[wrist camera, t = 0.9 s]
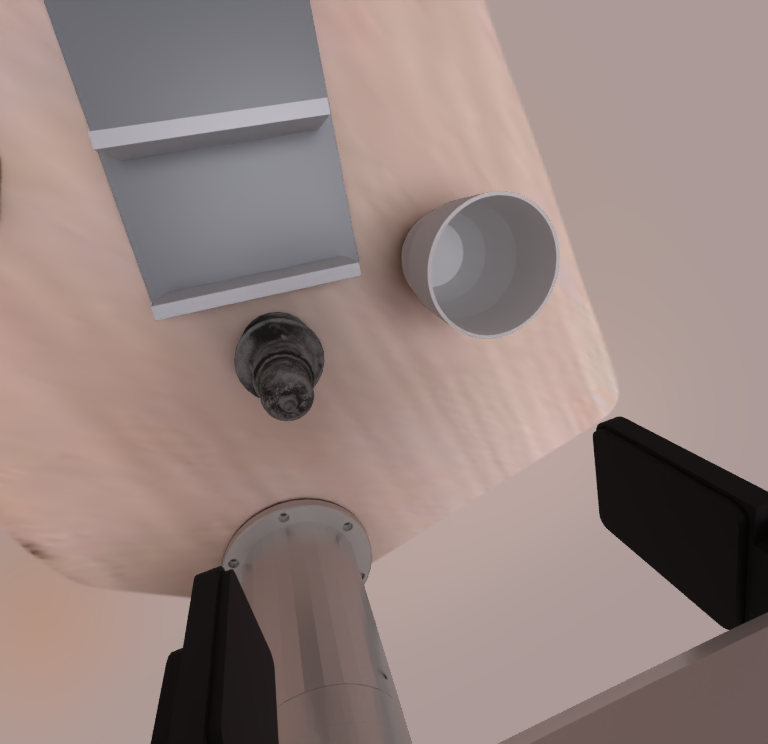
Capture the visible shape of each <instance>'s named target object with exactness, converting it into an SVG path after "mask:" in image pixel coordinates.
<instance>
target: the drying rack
mask: <svg viewBox="0 0 768 744" xmlns="http://www.w3.org/2000/svg"><path fill="white" fill-rule="evenodd" d="M44 3H45V6H46V8H47V11H48V14H49V17H50V20H51V22H52V25H53V28H54V31H55V34H56V36H57V39H58V42H59V45H60V48H61V50H62V53H63V56H64V59H65V62H66V64H67V67H68V70H69V73H70V76H71V78H72V81H73V84H74V87H75V90H76V92H77V95H78V98H79V101H80V104H81V106H82V109H83V112H84V115H85V118H86V120H87V123H88V126H89V129H90V131H89V132H88V135H89V137H90V140H91V143H92V146H93V149H94V150H96V151H98V154H99V157H100V159H101V162H102V165H103V168H104V171H105V173H106V176H107V179H108V182H109V185H110V187H111V190H112V193H113V196H114V199H115V201H116V204H117V207H118V210H119V213H120V215H121V218H122V221H123V224H124V227H125V229H126V232H127V235H128V238H129V241H130V243H131V246H132V249H133V252H134V255H135V257H136V260H137V263H138V266H139V269H140V271H141V274H142V277H143V280H144V283H145V285H146V288H147V291H148V294H149V297H150V299H151V302H152V306H151V310H152V313H153V315H154V318H155V321H156V320H161V319H165V318H170V317H174V316H179V315H184V314H188V313H193V312H197V311H202V310H206V309H211V308H215V307H220V306H225V305H229V304H234V303H238V302H243V301H247V300H252V299H256V298H261V297H266V296H270V295H275V294H279V293H284V292H288V291H293V290H297V289H302V288H307V287H311V286H316V285H320V284H325V283H329V282H334V281H338V280H343V279H348V278H352V277H357V276H361V272H360V267H359V259H358V254H357V249H356V243H355V238H354V233H353V227H352V222H351V217H350V212H349V206H348V201H347V196H346V191H345V185H344V180H343V175H342V169H341V164H340V159H339V154H338V148H337V143H336V138H335V132H334V127H333V122H332V117H331V111H330V106H329V101H328V96H327V90H326V85H325V80H324V74H323V69H322V64H321V59H320V53H319V48H318V43H317V37H316V32H315V27H314V22H313V16H312V11H311V6H310V1H309V0H44Z"/></svg>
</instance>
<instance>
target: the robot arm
mask: <svg viewBox="0 0 768 744" xmlns="http://www.w3.org/2000/svg"><path fill="white" fill-rule="evenodd" d="M593 444H594V456H595V467H596V480H597V490H598V501H599V502H598V503H599V514H600V518H601V521H602V523H603V524H604V526H605V527H606V528H607V529H608V530H609V531H610V532H611V533H613V534H614V535H615V536H616V537H617V538H618V539H620V540H621V541H622V542H623V543H624V544H625V545H627V546H628V547H629V548H630V549H631V550H633V551H634V552H635V553H636V554H637V555H639V556H640V557H641V558H642V559H643V560H644V561H645V562H647V563H648V564H649V565H650V566H651V567H652V568H654V569H655V570H656V571H657V572H658V573H660V574H661V575H662V576H663V577H664V578H665V579H667V580H668V581H669V582H670V583H671V584H673V585H674V586H675V587H676V588H677V589H678V590H679V591H681V592H682V593H683V594H684V595H685V596H686V597H688V598H689V599H690V600H691V601H692V602H694V603H695V604H696V605H697V606H698V607H700V608H701V609H702V610H703V611H704V612H705V613H707V614H708V615H709V616H710V617H711V618H712V619H714V620H715V621H716V622H717V623H718V624H719V625H721V626H722V627H723V628H725V629H728V630H729V631H727V632H725V633H723V634H721V635H719V636H717V637H715V638H713V639H711V640H709V641H706V642H705V643H702V644H700V645H698V646H696V647H694V648H692V649H690V650H688V651H686V652H684V653H682V654H680V655H678V656H676V657H673V658H671V659H669V660H667V661H665V662H663V663H661V664H659V665H657V666H655V667H653V668H651V669H649V670H646V671H645V672H642V673H640V674H638V675H636V676H634V677H632V678H630V679H628V680H626V681H625V682H622V683H620V684H618V685H616V686H614V687H612V688H610V689H608V690H606V691H604V692H602V693H600V694H598V695H595V696H593V697H591V698H589V699H587V700H585V701H583V702H581V703H579V704H577V705H575V706H573V707H571V708H569V709H567V710H565V711H563V712H561V713H559V714H557V715H555V716H553V717H551V718H549V719H547V720H545V721H543V722H541V723H539V724H537V725H534V726H532V727H531V728H528V729H526V730H524V731H522V732H520V733H518V734H516V735H514V736H512V737H510V738H508V739H506V740H504V741H502V742H500V743H498V744H768V492H767V491H765V490H763V489H762V488H760V487H758V486H756V485H754V484H752V483H750V482H748V481H746V480H744V479H742V478H740V477H738V476H736V475H734V474H732V473H730V472H729V471H727V470H725V469H723V468H721V467H719V466H717V465H715V464H713V463H711V462H709V461H707V460H705V459H703V458H701V457H699V456H697V455H696V454H694V453H692V452H690V451H688V450H686V449H684V448H682V447H680V446H678V445H676V444H674V443H672V442H670V441H668V440H667V439H665V438H663V437H661V436H659V435H657V434H655V433H653V432H651V431H649V430H647V429H645V428H643V427H641V426H639V425H637V424H636V423H634V422H631V421H630V420H628V419H626V418H623V417H616V418H613V419H610V420H608V421H605V422H602V423H600V424H598V426H597V429H596V431H595V432H594V433H593ZM282 513H283V514H282ZM371 561H372V553H371V545H370V542H369V539H368V536H367V534H366V532H365V530H364V528H363V526H362V524H361V523H360V522H359V521H358V519H357V518H356V517H355V516H354V515H352V514H351V513H350V512H348V511H347V510H346V509H344V508H342V507H340V506H338V505H336V504H333V503H329V502H325V501H321V500H309V499H305V500H294V501H289V502H285V503H281V504H277V505H275V506H273V507H270V508H268V509H266V510H264V511H262V512H260V513H259V514H257V515H256V516H254V517H253V518H251V519H250V520H249V521H248V522H246V523H245V524H244V525H243V526H242V527H241V528H240V529H239V530H238V531H237V533H236V534H235V535H234V537H233V538H232V539H231V541H230V543H229V545H228V547H227V549H226V551H225V555H224V559H223V563H222V566H219V567H217V568H214V569H211V570H209V571H206V572H203V573H201V574H198V575H196V576H195V578H194V583H193V589H192V595H191V601H190V608H189V614H188V620H187V626H186V633H185V639H184V645H183V648H181V649H179V650H176V651H174V652H171V654H170V655H169V656H168V660H167V663H166V667H165V673H164V678H163V683H162V688H161V693H160V698H159V704H158V709H157V714H156V719H155V725H154V730H153V735H152V740H151V744H412V741H411V738H410V735H409V732H408V728H407V725H406V722H405V719H404V715H403V712H402V708H401V705H400V702H399V699H398V695H397V692H396V689H395V685H394V682H393V679H392V675H391V672H390V669H389V666H388V662H387V659H386V656H385V653H384V649H383V646H382V643H381V640H380V636H379V633H378V630H377V627H376V623H375V620H374V617H373V613H372V610H371V607H370V603H369V600H368V597H367V594H366V591H365V587H364V584H365V582H366V580H367V578H368V575H369V572H370V569H371Z"/></svg>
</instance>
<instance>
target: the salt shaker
mask: <svg viewBox="0 0 768 744" xmlns="http://www.w3.org/2000/svg"><path fill="white" fill-rule="evenodd" d="M234 361H235V369H236V373H237V375H238V377H239V380H240V382H241V383H242V384H243V385H244V387H245V388H246V389H247V390H248V391H249V392H251V393H252V394H253V395H255V396H256V397H258V398H261V403H262V405H263V407H264V409H265V410H266V411H267V412H268V414H269V415H271V416H272V417H274V418H276V419H278V420H282V421H292V420H296V419H299V418H301V417H302V416H304V415H305V414H306V413H307V412H308V411H309V410H310V408H311V406H312V403H313V399H314V392H313V387H314V386H315V385H316V383H317V382H318V380H319V378H320V376H321V374H322V371H323V366H324V351H323V349H322V346H321V343H320V341H319V339H318V338H317V336H316V335H315V334H314V332H313V331H312V330H310V329H309V328H308V327H307V326H306V325H305V324H304V323H303V322H302V321H300V320H299V319H298V318H296V317H294V316H292V315H290V314H286V313H281V312H275V313H268V314H265V315H262V316H259V317H258V318H256V319H255V320H253V321H252V322H251V323H250V324H249V326H248V327H247V328H246V329H245V331H244V334H243V336H242V338H241V339H240V341H239V344H238V346H237V348H236V353H235V359H234Z"/></svg>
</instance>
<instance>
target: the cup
mask: <svg viewBox="0 0 768 744" xmlns="http://www.w3.org/2000/svg"><path fill="white" fill-rule="evenodd" d="M401 261H402V269H403V273H404V276H405V279H406V281H407V283H408V284H409V286H410V287H411V289H412V290H413V291H414V293H415V294H416V295H417V297H418V298H419V299H420V301H421V302H422V303H423V304H424V305H425V306H426V307H427V308H428V309H429V310H430V311H432V312H433V313H434V314H436V315H437V316H438V317H440V318H441V319H442V320H444V321H445V322H446V323H448V324H449V325H450V326H452V327H453V328H454V329H456V330H457V331H459V332H461V333H463V334H465V335H468V336H471V337H476V338H485V339H486V338H497V337H502V336H505V335H508V334H511V333H513V332H515V331H517V330H519V329H520V328H522V327H523V326H525V325H526V324H527V323H529V322H530V321H531V320H532V319H533V318H534V317H535V316H536V315H537V314H538V313H539V312H540V310H541V309H542V308H543V306H544V305H545V304H546V302H547V300H548V299H549V297H550V295H551V293H552V290H553V288H554V285H555V282H556V279H557V275H558V269H559V245H558V240H557V236H556V232H555V230H554V227H553V225H552V223H551V221H550V219H549V218H548V216H547V215H546V213H545V212H544V211H543V210H542V209H541V208H540V207H539V206H538V205H537V204H536V203H535V202H533V201H532V200H530V199H529V198H527V197H525V196H523V195H520V194H517V193H513V192H507V191H494V192H488V193H483V194H479V195H475V196H471V197H466V198H462V199H458V200H454V201H451V202H448V203H446V204H444V205H442V206H440V207H439V208H437V209H435V210H433V211H431V212H430V213H428V214H426V215H425V216H423V217H422V218H420V219H419V220H418V221H417V222H416V223H415V224H414V225H413V227H412V228H411V229H410V231H409V233H408V234H407V236H406V239H405V241H404V243H403V247H402V254H401Z"/></svg>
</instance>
